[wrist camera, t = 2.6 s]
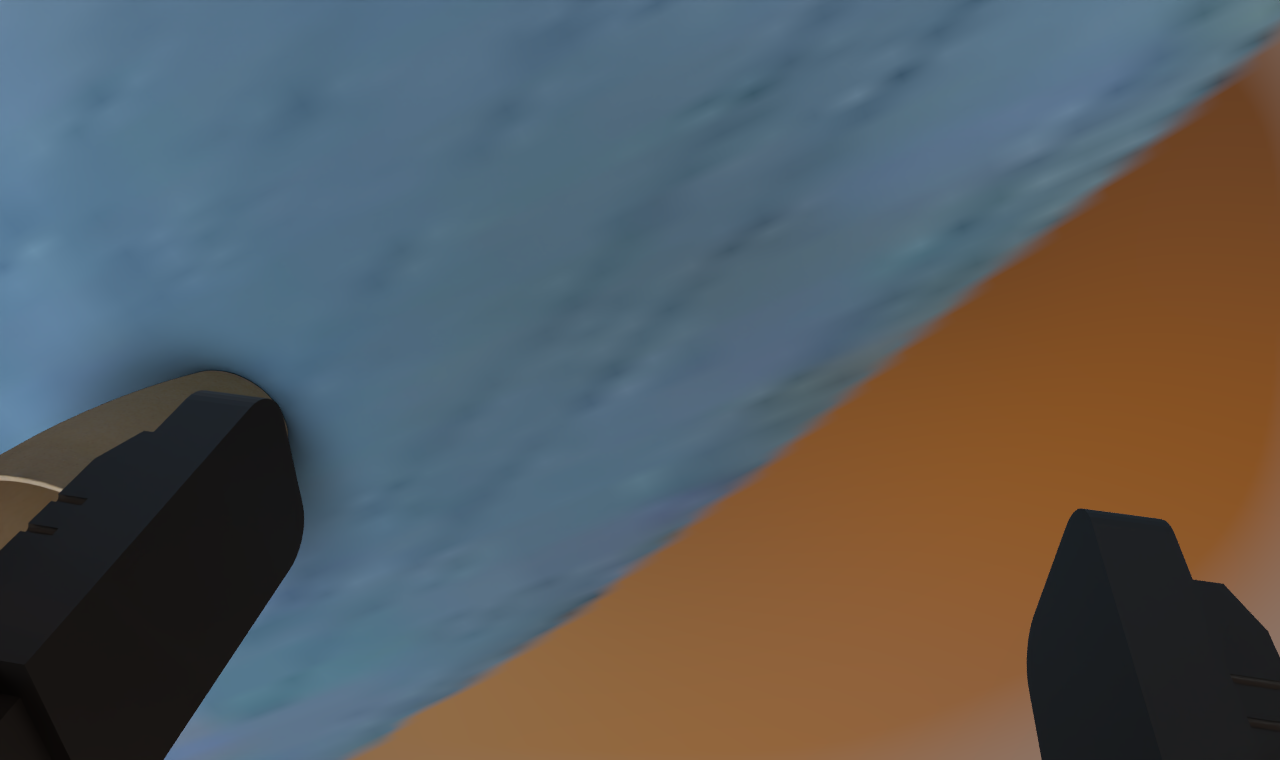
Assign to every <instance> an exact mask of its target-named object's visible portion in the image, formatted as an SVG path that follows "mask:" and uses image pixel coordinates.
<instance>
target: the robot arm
mask: <svg viewBox="0 0 1280 760" xmlns="http://www.w3.org/2000/svg"><path fill="white" fill-rule="evenodd" d="M303 528H304V510H303V504H302V500H301V495H300V491H299V486H298V482H297V477H296V472H295V468H294V463H293V459H292V454H291V450H290V445H289V440H288V436H287V431H286V427H285V422H284V418H283V414H282V412H281V409H280V407H279V406H278V405H277V403H276V402H274V401H273V400H271V399H268V398H260V397H253V396H245V395H238V394H230V393H223V392H215V391H208V390H200V391H197V392H195V393H193V394H191V395H190V396H189V397H188V398H186V399H185V400H184V401H183V402H182V403H181V404H180V405H179V406H178V408H177V409H176V410H175V411H174V412H173V413H172V414H171V415H170V416H169V417H168V418H167V419H166V420H165V421H164V422H163V423H162V424H161V425H160V426H159V427H158V428H157V429H156V430H155V431H154V432H150V431H143V432H141V433H139V434H137V435H135V436H134V437H132V438H130V439H128V440H127V441H125V442H123V443H121V444H119V445H118V446H116V447H114V448H112V449H111V450H109V451H107V452H105V453H103V454H102V455H100V456H98V457H96V458H95V459H94V460H93V461H91V462H90V463H89V464H88V465H87V466H86V467H85V468H84V469H83V470H82V471H81V472H80V473H79V474H78V475H77V476H76V477H75V478H74V479H73V480H72V481H71V482H70V483H69V484H68V485H67V486H66V487H65V488H64V489H63V490H62V491H61V492H60V493H59V494H58V500H57V501H56V502H54V501H50V502H49V503H48V504H47V505H46V506H45V507H44V508H43V509H42V510H41V511H40V512H39V513H38V514H37V515H36V516H35V517H34V518H33V519H32V520H31V521H30V522H29V523H28V529H27V531H26V532H24V531H20V532H18V533H17V534H16V535H15V536H14V537H13V538H12V539H11V540H10V541H9V542H8V543H7V544H6V545H5V546H4V547H3V548H2V549H1V550H0V760H164V758H165V756H166V755H167V753H168V752H169V750H170V749H171V747H172V746H173V744H174V743H175V741H176V740H177V738H178V737H179V735H180V734H181V732H182V731H183V729H184V728H185V726H186V725H187V723H188V722H189V720H190V719H191V717H192V716H193V714H194V713H195V711H196V710H197V708H198V707H199V705H200V704H201V702H202V701H203V699H204V698H205V696H206V695H207V693H208V692H209V690H210V689H211V687H212V686H213V684H214V683H215V681H216V680H217V678H218V677H219V675H220V674H221V672H222V671H223V669H224V668H225V666H226V665H227V663H228V662H229V660H230V659H231V657H232V656H233V654H234V653H235V651H236V650H237V648H238V647H239V645H240V644H241V642H242V641H243V639H244V637H245V636H246V634H247V633H248V631H249V630H250V628H251V627H252V625H253V624H254V622H255V621H256V619H257V618H258V616H259V615H260V613H261V612H262V610H263V609H264V607H265V606H266V604H267V603H268V601H269V600H270V598H271V597H272V595H273V594H274V592H275V591H276V589H277V588H278V586H279V585H280V583H281V582H282V580H283V579H284V577H285V576H286V574H287V573H288V571H289V570H290V568H291V566H292V565H293V563H294V561H295V558H296V556H297V553H298V551H299V548H300V544H301V540H302V535H303ZM1027 649H1028V650H1027V678H1028V686H1029V692H1030V698H1031V703H1032V709H1033V714H1034V720H1035V725H1036V731H1037V736H1038V742H1039V747H1040V752H1041V758H1042V760H1280V657H1279V655H1278V652H1277V650H1276V648H1275V646H1274V644H1273V642H1272V639H1271V637H1270V635H1269V633H1268V631H1267V630H1266V629H1265V628H1264V627H1263V626H1262V625H1261V623H1260V622H1259V621H1258V620H1257V619H1256V618H1255V617H1254V616H1253V615H1252V614H1251V613H1250V612H1249V611H1248V610H1247V609H1246V608H1245V607H1244V606H1243V604H1242V603H1241V602H1240V601H1239V600H1238V599H1237V598H1236V597H1235V596H1234V595H1233V594H1232V593H1231V592H1230V591H1229V589H1227V587H1226V586H1225V585H1224V584H1220V583H1213V582H1206V581H1198V580H1193V579H1192V577H1191V574H1190V572H1189V569H1188V567H1187V564H1186V562H1185V559H1184V556H1183V554H1182V552H1181V549H1180V546H1179V544H1178V541H1177V539H1176V536H1175V534H1174V532H1173V530H1172V528H1171V526H1170V525H1169V524H1168V523H1167V522H1166V521H1165V520H1162V519H1156V518H1148V517H1141V516H1133V515H1126V514H1118V513H1111V512H1102V511H1095V510H1088V509H1077V510H1076V511H1075V512H1074V513H1073V514H1072V516H1071V517H1070V519H1069V521H1068V523H1067V526H1066V528H1065V531H1064V534H1063V537H1062V539H1061V542H1060V545H1059V548H1058V550H1057V553H1056V556H1055V559H1054V562H1053V564H1052V567H1051V570H1050V572H1049V575H1048V578H1047V581H1046V584H1045V587H1044V589H1043V592H1042V595H1041V597H1040V600H1039V603H1038V606H1037V608H1036V611H1035V614H1034V617H1033V620H1032V623H1031V628H1030V633H1029V639H1028V648H1027Z"/></svg>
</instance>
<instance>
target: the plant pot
mask: <svg viewBox="0 0 1280 760" xmlns="http://www.w3.org/2000/svg"><path fill="white" fill-rule="evenodd" d="M200 390H208V391H215V392H223V393H230V394H238V395H245V396H253V397H260V398H268V399H271V398H270V397H269V396H268V395H267V394H266V393H265V392H264V391H263V390H262V389H261V388H259V387H258V386H256V385H255V384H253V383H252V382H250V381H248V380H246V379H245V378H243V377H240V376H238V375H235V374H232V373H228V372H223V371H203V372H198V373H194V374H190V375H187V376H183V377H180V378H176V379H172V380H169V381H166V382H163V383H160V384H157V385H154V386H151V387H148V388H145V389H142V390H139V391H136V392H133V393H130V394H128V395H125V396H122V397H120V398H117V399H115V400H112V401H110V402H107V403H105V404H102V405H100V406H97V407H95V408H93V409H90V410H88V411H85V412H83V413H81V414H79V415H77V416H74V417H72V418H70V419H68V420H66V421H64V422H61V423H59V424H57V425H55V426H53V427H51V428H49V429H47V430H45V431H43V432H41V433H39V434H37V435H35V436H34V437H32V438H30V439H28V440H26V441H24V442H23V443H21V444H19V445H17V446H15V447H14V448H12V449H10V450H8V451H6V452H5V453H3V454H1V455H0V550H1V549H2V548H3V547H4V546H5V545H6V544H7V543H8V542H9V541H10V540H11V539H12V538H13V537H14V536H15V535H16V534H17V533H18V532H20V531H24V532H26V531H27V529H28V523H29V522H30V521H31V520H32V519H33V518H34V517H35V516H36V515H37V514H38V513H39V512H40V511H41V510H42V509H43V508H44V507H45V506H46V505H47V504H48V503H49V502H50V501H54V502H56V501H57V500H58V494H59V493H60V492H61V491H62V490H63V489H64V488H65V487H66V486H67V485H68V484H69V483H70V482H71V481H72V480H73V479H74V478H75V477H76V476H77V475H78V474H79V473H80V472H81V471H82V470H83V469H84V468H85V467H86V466H87V465H88V464H89V463H90V462H91V461H93V460H94V459H95V458H96V457H98V456H100V455H102V454H103V453H105V452H107V451H109V450H111V449H112V448H114V447H116V446H118V445H119V444H121V443H123V442H125V441H127V440H128V439H130V438H132V437H134V436H135V435H137V434H139V433H141V432H143V431H150V432H154V431H155V430H156V429H157V428H158V427H159V426H160V425H161V424H162V423H163V422H164V421H165V420H166V419H167V418H168V417H169V416H170V415H171V414H172V413H173V412H174V411H175V410H176V409H177V408H178V406H179V405H180V404H181V403H182V402H183V401H184V400H185V399H186V398H188V397H189V396H190V395H191V394H193V393H195V392H197V391H200ZM271 400H272V399H271ZM283 418H284V417H283ZM284 422H285V420H284ZM285 427H286V431H287V436H288V430H287V425H286V423H285Z"/></svg>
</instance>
